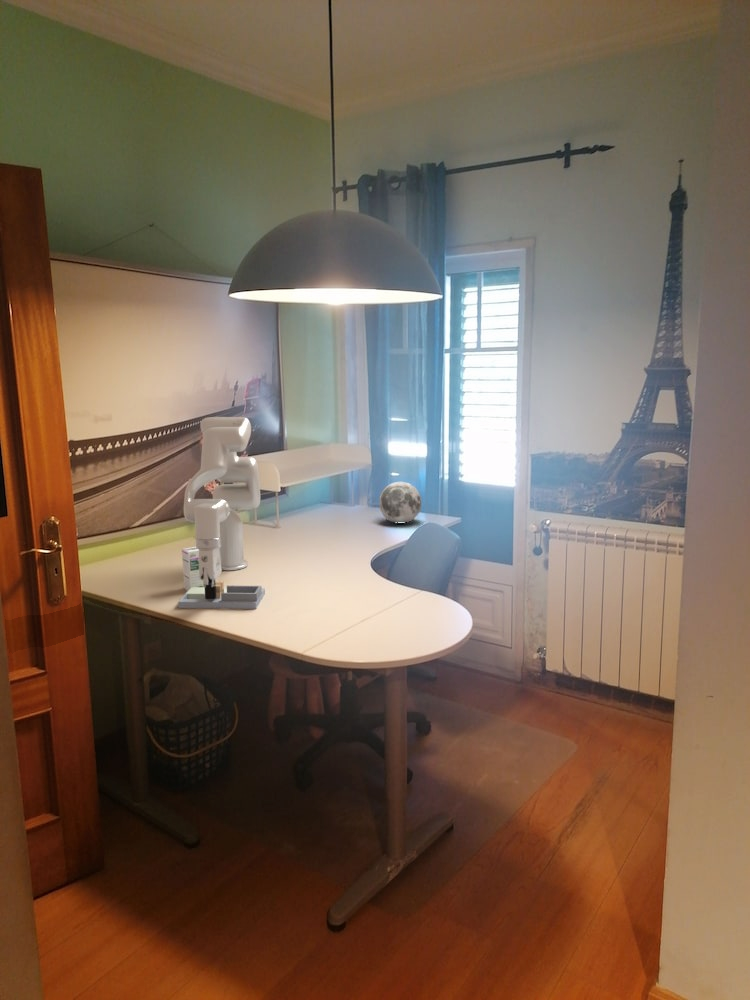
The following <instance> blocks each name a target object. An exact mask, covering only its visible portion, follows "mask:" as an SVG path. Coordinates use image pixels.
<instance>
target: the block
mask: <svg viewBox="0 0 750 1000" xmlns="http://www.w3.org/2000/svg"><path fill="white" fill-rule="evenodd" d="M224 583H225V582H224V581H222V580H221V581H218V580H216V585H214V586H216V598H221V593H224V588H225V584H224Z"/></svg>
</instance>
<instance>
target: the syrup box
mask: <svg viewBox="0 0 750 1000" xmlns="http://www.w3.org/2000/svg"><path fill="white" fill-rule="evenodd" d="M181 555H182V570H183V571H182V572H183V585H184V586H183V587H184V589H185V590H186V592H188V590H189V589H190V588H191V587H205V586H204V579H203V580H201V579H200V577H199V549H197V548H196V546H193V547H187V548H181Z"/></svg>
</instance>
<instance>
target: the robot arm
mask: <svg viewBox="0 0 750 1000" xmlns="http://www.w3.org/2000/svg"><path fill="white" fill-rule="evenodd" d="M199 425H200V431H201V434H202V441H201V442H202V444H201V446H202V447H201V457H200V469H199V470H198V471H197V472H196V473H195V474H194V475H193V476H192V478H191V479H189V482H188V484H187V485H186V488H185V491H184V498H183V499H184V500H183V516H184V518H185V520H186V521H187V522H190V523H194V529H195V547H196V548H197V549H199V577H200V579H201V580H203V579H204V586H205V599H215V598H216V586H214V585H216V581H217V579H218V577H219V576H220V575H221V574H222V571H236V570H237V571H238V570H242V569H244V568H246V567H248V565H249V562H248V561H247V560H246V559H244V539H243V537H244V535H243V534H244V533H243V520H242V518H241V516H240V514H239V513H238V512H237V510H256V509H257V508H259V506H260V504H261V486H260V485H261V484H260V472H259V471H260V470H259V465H258V462H257V460H256V458H254V457H253V456H252V457H251V456H238V454H237V453H240V452H245V450H246V449H247V447H248V444H249V441H250V438H251V434H252V424H251V422H250V420H249V418H247V417H244V416H213V417H211V416H210V417H209V416H208V417H205V418H203V419H201V422H200V424H199ZM215 480H217V482H220V483H224V484H218V485H217V486H215V487H214V489H213V490H212V498H195V496H196V494H197V492H198V491H199V490H200V489H201V488H202V487H204V486H205V485H206V484H209V483H211V482H214V481H215ZM225 483H226V484H225Z"/></svg>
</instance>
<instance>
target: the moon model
mask: <svg viewBox="0 0 750 1000" xmlns="http://www.w3.org/2000/svg"><path fill="white" fill-rule="evenodd" d="M378 503H379V504H378V505H379V510H380V513H381V514H382V516H383V517H384V518H385V519H386V520H387V521H389V522H391V523H393V522H397V523H398V522H407V523H410V522H411V521H413V520H414V519H415V518H416V517H417V516H418V515H419V513H420V511H421V509H422V497H421V494H420V491H418V489H417V488H416V487H415V486H414V485H412V484H411V483H409V482H406V481H396V482H391V483H390V484H388V485H387V486H386V487H385V488H384V489H383V490H382V491H381V494H380V496H379V502H378ZM409 521H410V522H409ZM397 523H396V524H397Z"/></svg>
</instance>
